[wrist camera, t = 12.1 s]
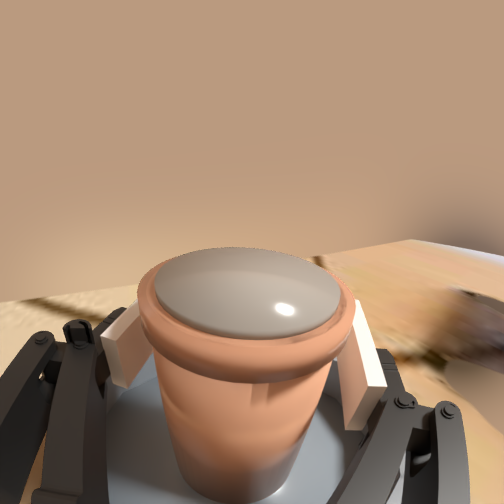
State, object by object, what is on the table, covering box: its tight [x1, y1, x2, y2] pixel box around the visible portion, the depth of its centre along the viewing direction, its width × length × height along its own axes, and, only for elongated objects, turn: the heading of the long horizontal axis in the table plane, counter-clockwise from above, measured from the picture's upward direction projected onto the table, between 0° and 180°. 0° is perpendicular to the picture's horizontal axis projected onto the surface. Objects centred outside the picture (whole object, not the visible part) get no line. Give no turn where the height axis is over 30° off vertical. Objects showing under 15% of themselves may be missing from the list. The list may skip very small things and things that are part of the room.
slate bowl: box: [106, 353, 406, 504], centre depth 14 cm, size 20×20×4 cm
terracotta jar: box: [137, 247, 356, 504], centre depth 12 cm, size 8×8×12 cm
